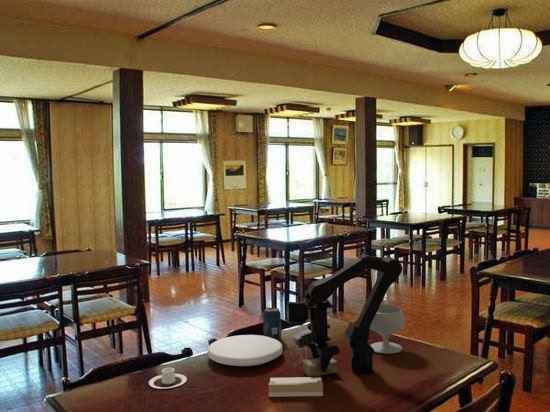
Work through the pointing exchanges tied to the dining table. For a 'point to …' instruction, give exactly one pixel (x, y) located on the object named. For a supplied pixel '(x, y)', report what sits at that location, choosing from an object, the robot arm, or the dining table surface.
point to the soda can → (272, 323)
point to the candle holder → (168, 378)
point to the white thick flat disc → (244, 350)
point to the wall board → (295, 386)
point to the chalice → (387, 328)
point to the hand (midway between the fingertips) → (319, 368)
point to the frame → (318, 367)
